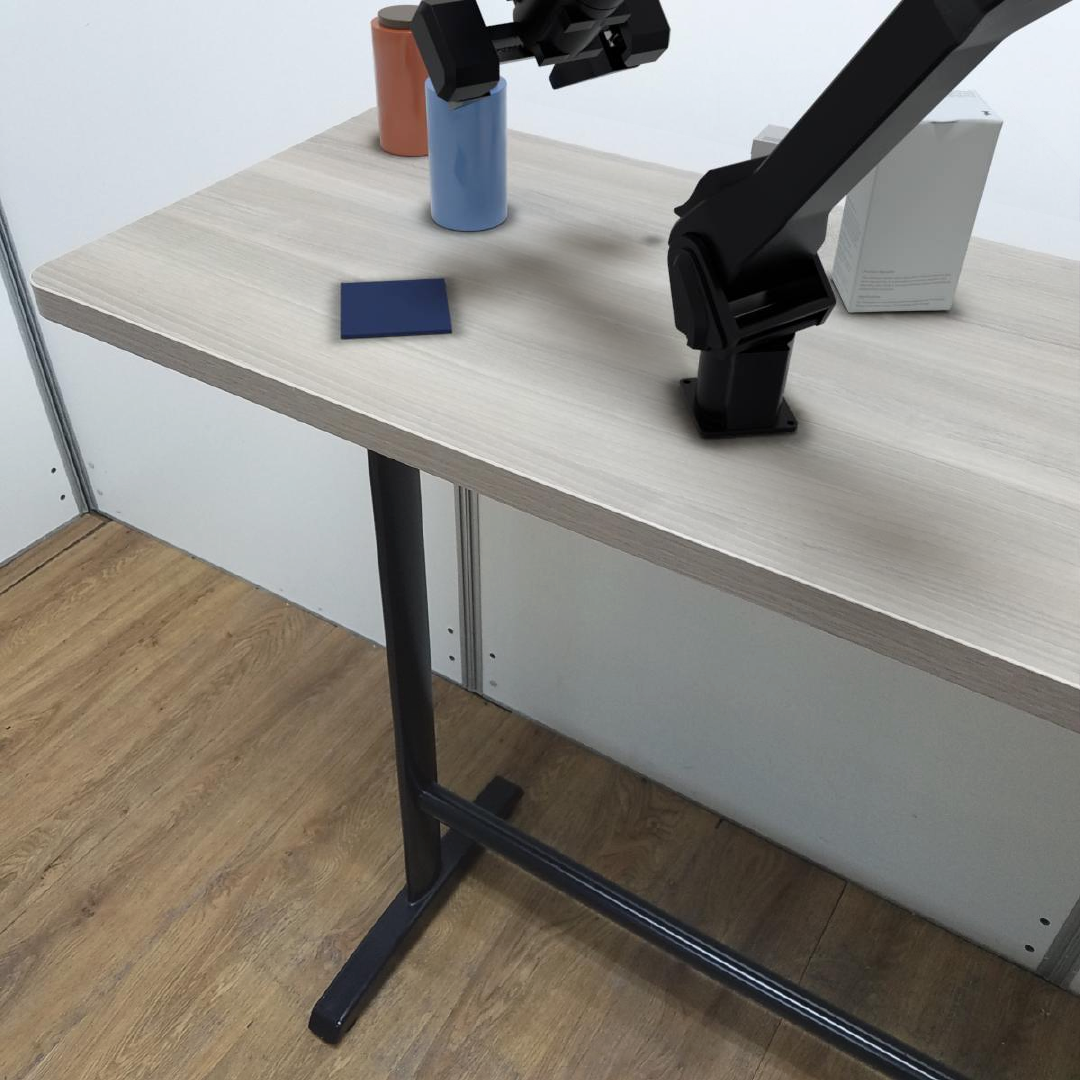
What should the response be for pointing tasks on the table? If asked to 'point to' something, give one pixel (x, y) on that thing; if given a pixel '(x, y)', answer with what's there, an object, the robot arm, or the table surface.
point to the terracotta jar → (399, 82)
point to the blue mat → (394, 308)
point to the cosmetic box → (917, 211)
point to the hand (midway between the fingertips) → (502, 93)
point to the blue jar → (468, 160)
